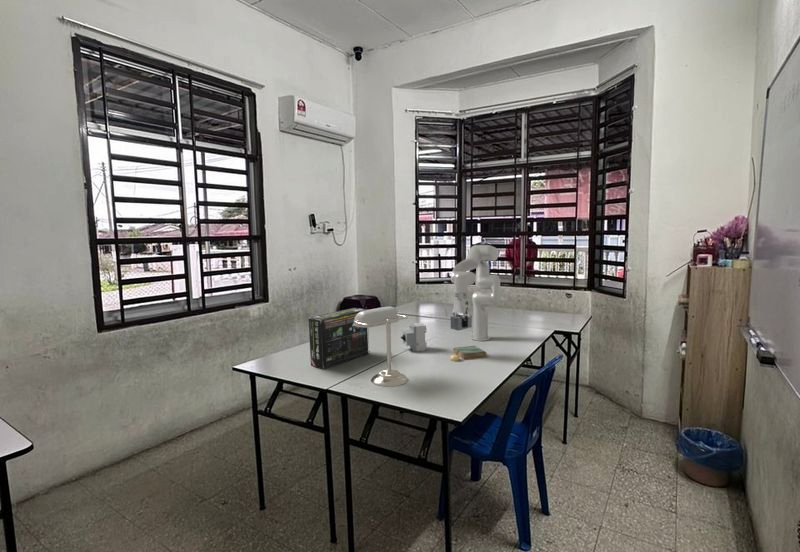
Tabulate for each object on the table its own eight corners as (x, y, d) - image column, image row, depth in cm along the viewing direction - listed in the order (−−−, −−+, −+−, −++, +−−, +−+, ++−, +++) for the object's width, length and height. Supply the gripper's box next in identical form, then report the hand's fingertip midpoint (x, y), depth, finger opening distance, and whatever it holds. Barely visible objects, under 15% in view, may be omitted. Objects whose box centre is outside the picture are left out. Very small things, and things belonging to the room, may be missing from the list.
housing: (464, 325, 244) (463, 313, 243) (471, 327, 239) (471, 315, 239) (450, 328, 237) (450, 316, 237) (458, 330, 233) (458, 318, 232)
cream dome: (448, 359, 232) (448, 355, 232) (457, 358, 234) (457, 354, 233) (452, 362, 227) (452, 357, 227) (460, 361, 229) (460, 356, 229)
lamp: (389, 366, 221) (388, 303, 218) (421, 377, 203) (421, 309, 200) (348, 378, 203) (346, 310, 200) (380, 392, 186) (378, 317, 182)
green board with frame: (453, 352, 244) (453, 347, 244) (474, 350, 248) (474, 345, 248) (463, 359, 231) (463, 354, 231) (486, 356, 235) (486, 351, 235)
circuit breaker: (400, 349, 253) (399, 324, 252) (422, 346, 258) (421, 323, 256) (404, 352, 246) (403, 327, 244) (426, 350, 250) (426, 325, 249)
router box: (356, 350, 251) (354, 307, 248) (369, 353, 244) (368, 308, 241) (308, 365, 224) (306, 316, 221) (322, 370, 217) (320, 319, 214)
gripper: (476, 296, 231) (476, 328, 233) (456, 292, 245) (456, 322, 248) (466, 297, 227) (466, 330, 229) (446, 293, 242) (446, 324, 244)
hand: (461, 325), depth 238 cm, fingers closed on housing, 6 cm apart
